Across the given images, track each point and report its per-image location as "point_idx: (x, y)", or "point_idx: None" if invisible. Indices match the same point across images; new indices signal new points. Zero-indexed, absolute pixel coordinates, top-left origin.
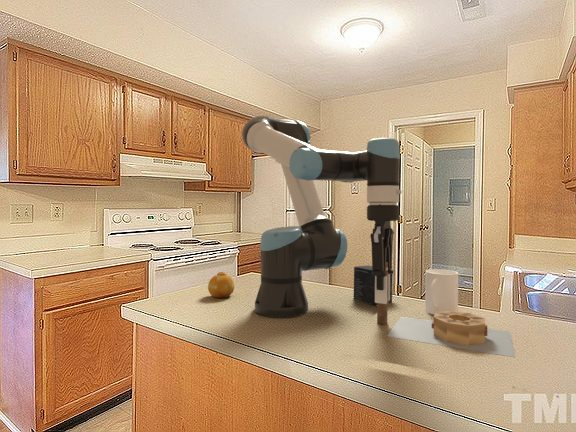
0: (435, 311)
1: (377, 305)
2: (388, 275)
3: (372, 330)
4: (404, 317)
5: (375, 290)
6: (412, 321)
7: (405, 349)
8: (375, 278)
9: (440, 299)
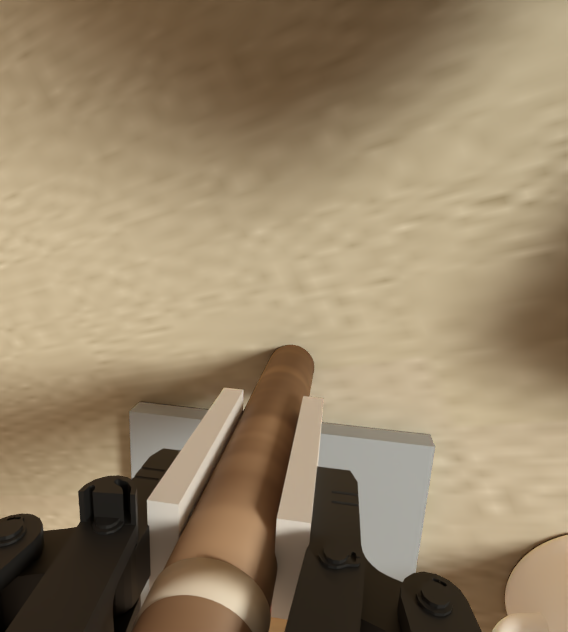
0: (532, 604)
1: (260, 389)
2: (273, 600)
3: (241, 331)
4: (423, 462)
5: (199, 429)
6: (370, 496)
7: (102, 465)
8: (160, 486)
9: None
